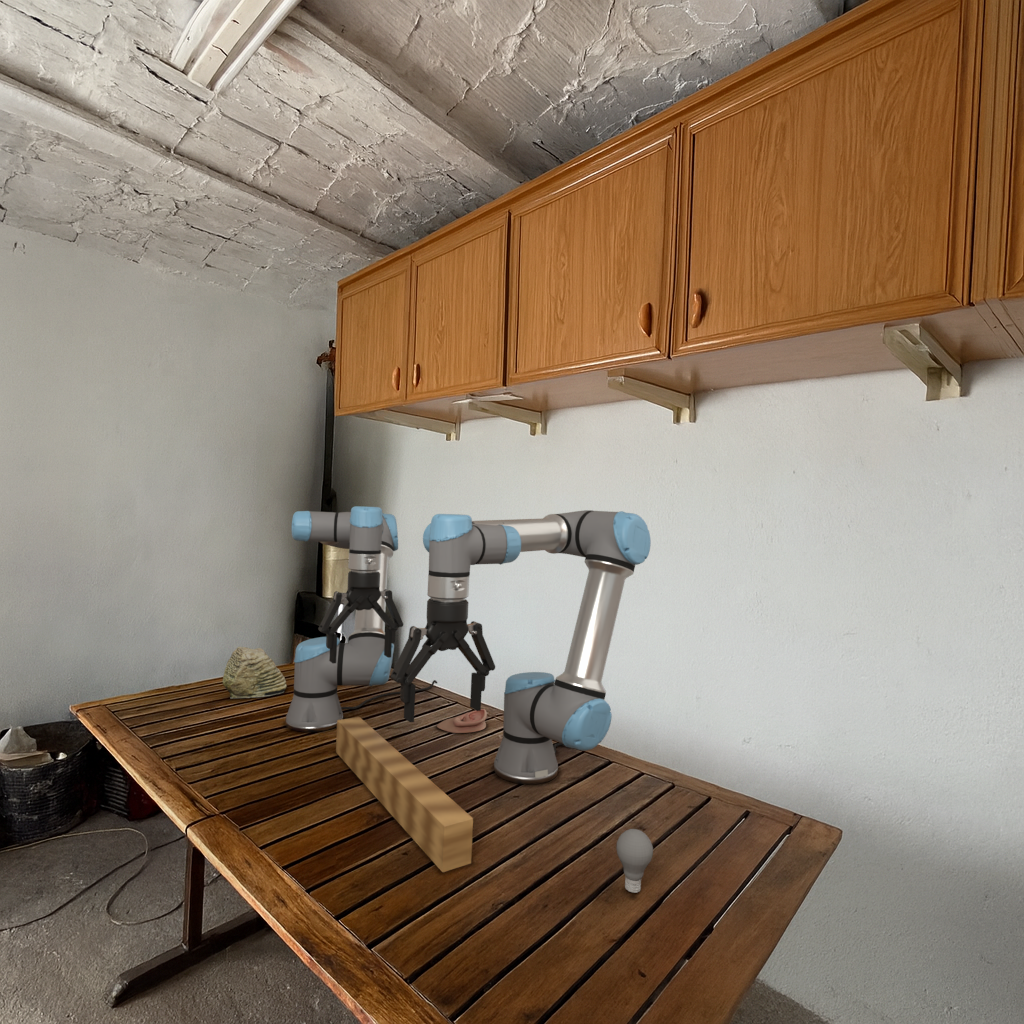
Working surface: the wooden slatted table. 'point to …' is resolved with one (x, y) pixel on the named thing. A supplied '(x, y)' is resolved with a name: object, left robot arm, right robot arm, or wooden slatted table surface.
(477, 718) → the anatomical model
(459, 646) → the right robot arm
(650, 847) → the light bulb
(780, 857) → the wooden slatted table surface
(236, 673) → the fossil
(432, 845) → the post
